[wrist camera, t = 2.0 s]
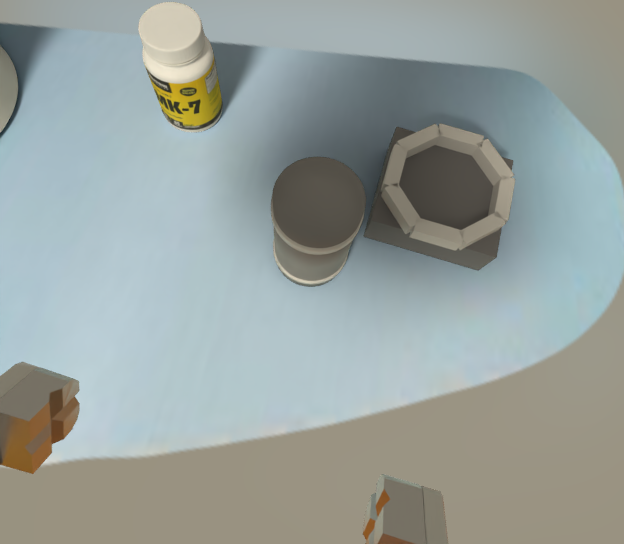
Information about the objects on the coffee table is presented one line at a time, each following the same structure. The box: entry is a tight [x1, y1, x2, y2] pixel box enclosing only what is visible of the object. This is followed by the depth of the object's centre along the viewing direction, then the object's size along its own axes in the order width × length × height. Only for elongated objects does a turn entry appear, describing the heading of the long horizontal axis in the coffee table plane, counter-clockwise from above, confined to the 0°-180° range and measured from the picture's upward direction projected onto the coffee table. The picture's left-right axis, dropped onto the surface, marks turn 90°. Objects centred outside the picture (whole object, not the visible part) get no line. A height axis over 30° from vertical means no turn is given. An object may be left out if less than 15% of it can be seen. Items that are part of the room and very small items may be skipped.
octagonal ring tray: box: [364, 123, 515, 270], centre depth 33 cm, size 9×9×4 cm
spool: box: [271, 157, 366, 287], centre depth 29 cm, size 5×5×9 cm
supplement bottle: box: [139, 2, 223, 132], centre depth 33 cm, size 5×5×8 cm
